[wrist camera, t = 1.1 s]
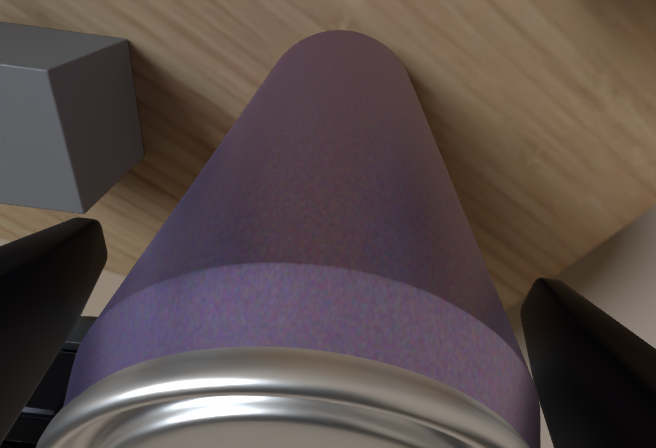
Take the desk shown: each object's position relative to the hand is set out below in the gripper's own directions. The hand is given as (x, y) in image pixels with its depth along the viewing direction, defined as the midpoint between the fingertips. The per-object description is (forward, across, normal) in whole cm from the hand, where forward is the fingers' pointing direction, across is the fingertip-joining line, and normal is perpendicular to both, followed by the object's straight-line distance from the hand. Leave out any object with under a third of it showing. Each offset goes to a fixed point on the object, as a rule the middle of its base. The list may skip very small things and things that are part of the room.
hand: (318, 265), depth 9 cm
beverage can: (+10, 0, 0) cm, 10 cm away
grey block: (+10, +11, +1) cm, 15 cm away
